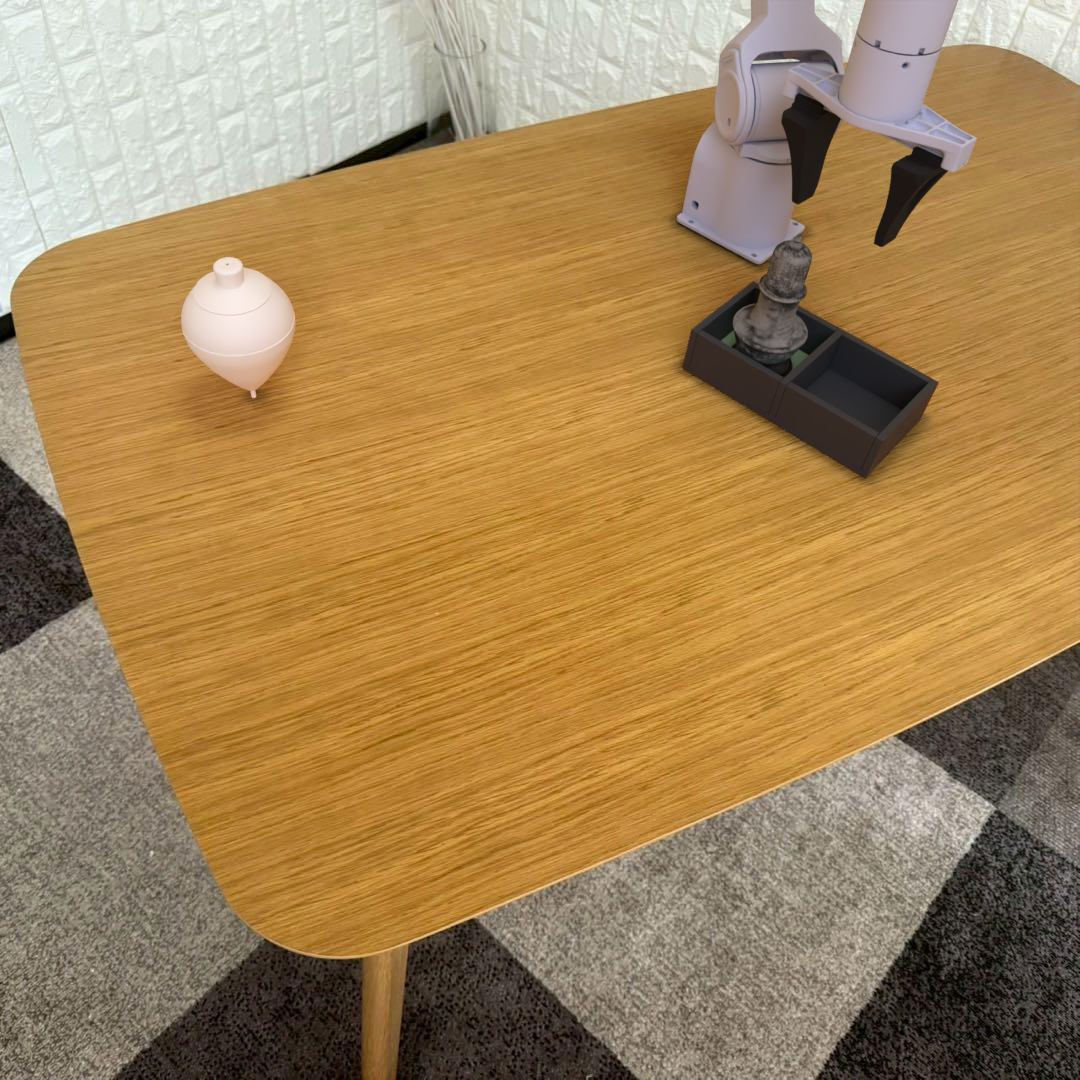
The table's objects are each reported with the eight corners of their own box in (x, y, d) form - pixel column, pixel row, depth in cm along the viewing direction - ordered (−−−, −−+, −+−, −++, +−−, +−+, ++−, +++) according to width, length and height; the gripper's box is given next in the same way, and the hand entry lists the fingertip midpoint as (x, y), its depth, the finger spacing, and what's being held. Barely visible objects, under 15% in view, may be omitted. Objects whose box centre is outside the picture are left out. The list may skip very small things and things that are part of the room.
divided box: (681, 368, 82) (690, 329, 79) (742, 319, 86) (753, 280, 83) (865, 478, 76) (883, 441, 72) (920, 419, 80) (939, 382, 77)
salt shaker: (775, 397, 79) (819, 270, 70) (710, 364, 81) (744, 236, 72) (808, 358, 83) (853, 231, 73) (744, 328, 84) (781, 200, 75)
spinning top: (296, 356, 80) (276, 223, 70) (314, 423, 75) (296, 291, 66) (195, 372, 78) (161, 237, 68) (208, 442, 73) (173, 308, 64)
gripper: (1026, 60, 67) (951, 241, 77) (843, -11, 73) (796, 165, 84) (972, 89, 63) (901, 276, 74) (785, 12, 70) (744, 193, 80)
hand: (842, 219), depth 78 cm, fingers open, 7 cm apart
